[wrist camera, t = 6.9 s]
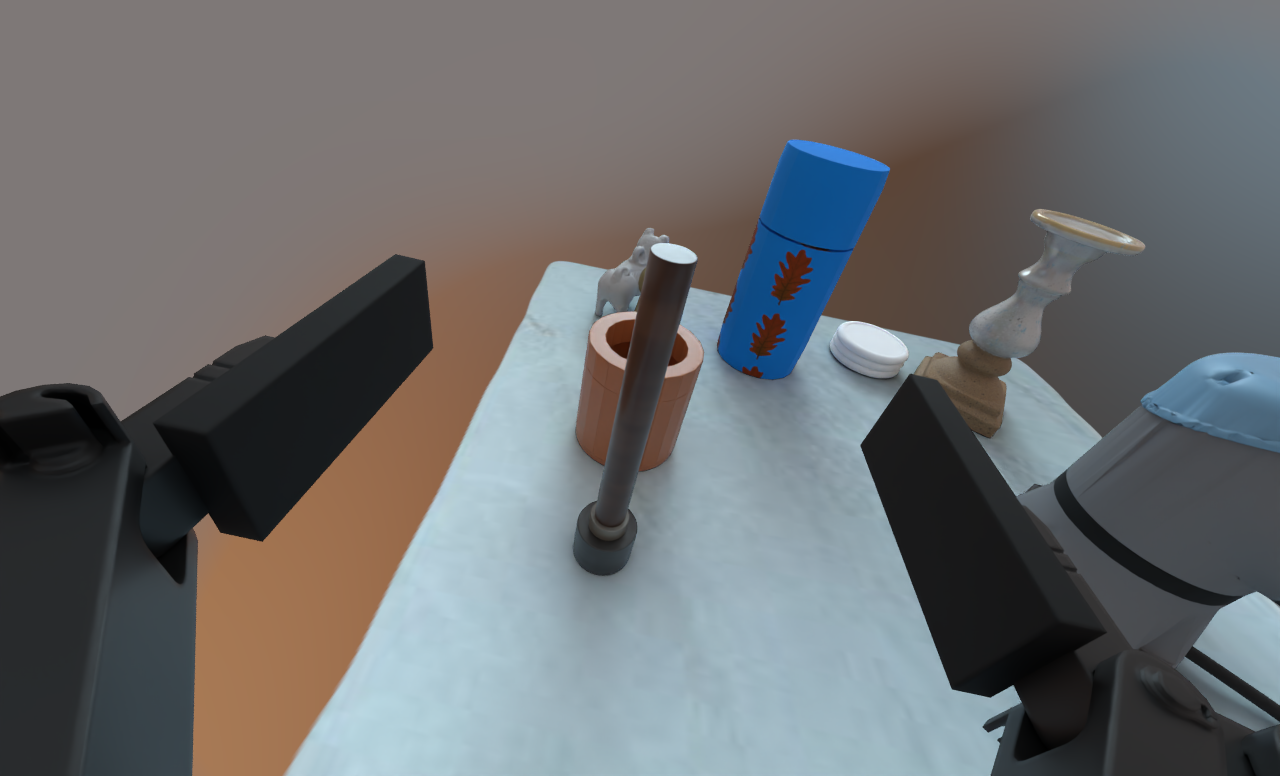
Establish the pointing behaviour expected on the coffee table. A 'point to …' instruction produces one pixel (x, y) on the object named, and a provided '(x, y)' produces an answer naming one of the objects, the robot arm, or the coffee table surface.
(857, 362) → the coaster
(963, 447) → the robot arm
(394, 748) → the coffee table surface
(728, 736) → the coffee table surface
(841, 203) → the thermos
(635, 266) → the dog figurine
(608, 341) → the orange pencil cup
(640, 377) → the dark long rod
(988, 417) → the candle holder
